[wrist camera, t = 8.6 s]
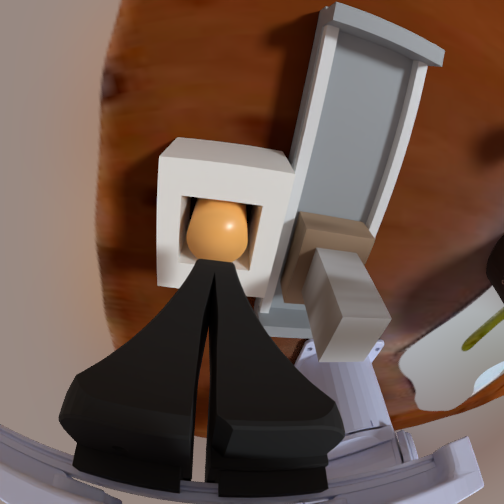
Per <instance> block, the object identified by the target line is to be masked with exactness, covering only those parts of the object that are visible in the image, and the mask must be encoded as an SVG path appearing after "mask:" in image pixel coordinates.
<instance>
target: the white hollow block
mask: <svg viewBox="0 0 504 504" xmlns="http://www.w3.org/2000/svg"><path fill="white" fill-rule="evenodd" d="M294 179H295V172H294V170H293V169H292V167H291V165H290V163H289V161H288V160H287V158H286V156H285V154H284V152H283V151H278V150H273V149H267V148H261V147H254V146H248V145H241V144H234V143H226V142H218V141H210V140H201V139H191V138H180V137H177V138H176V139H175V140H174V141H173V142H172V143H171V144H170V145H169V146H168V147H167V148H166V150H165V151H164V152H163V153H162V154H161V155H160V156H159V166H158V187H157V286H164V287H172V288H180V287H181V285H182V284H183V282H184V281H185V280H186V278H187V277H188V275H189V273H190V272H191V270H192V268H193V267H194V265H195V262H196V261H197V260H198V258H197V257H196V256H194V255H193V253H192V252H191V251H190V249H189V247H188V244H187V238H186V236H187V231H188V227H189V217H190V205H191V197H198V198H207V199H215V200H223V201H231V202H238V203H246V204H252V209H251V214H250V220H249V225H248V230H247V233H248V243H247V247H246V249H245V251H244V253H243V254H242V255H241V256H240V257H239V258H238V259H236V260H235V261H233V262H232V263H233V264H234V265H235V267H236V271H237V275H238V278H239V280H240V283H241V285H242V288H243V290H244V292H245V295H246V296H250V297H260V298H264V297H265V293H266V290H267V286H268V282H269V278H270V274H271V271H272V267H273V263H274V259H275V255H276V251H277V247H278V243H279V239H280V235H281V231H282V227H283V223H284V219H285V215H286V211H287V207H288V203H289V199H290V195H291V191H292V187H293V183H294Z"/></svg>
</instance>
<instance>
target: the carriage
mask: <svg viewBox="0 0 504 504" xmlns="http://www.w3.org/2000/svg"><path fill="white" fill-rule="evenodd" d="M374 242H375V238H374V237H373V235H372V234H371V232H370V231H369V230H368V228H367V227H366V225H365V224H364V223H363V222H360V221H355V220H349V219H344V218H338V217H332V216H326V215H320V214H314V213H308V212H302V211H300V212H299V216H298V220H297V223H296V227H295V231H294V234H293V238H292V241H291V245H290V249H289V252H288V256H287V259H286V263H285V266H284V270H283V273H282V277H281V280H280V283H281V289H282V295H283V300H284V303H291V304H304V305H305V307H306V311H307V315H308V320H309V324H310V328H311V332H312V336H313V340H314V345H315V349H316V353H317V358H318V362H362V361H364V360H365V359H366V357H367V356H368V354H369V353H370V351H371V350H372V348H373V347H374V345H375V344H376V342H377V341H378V339H379V338H380V336H381V335H382V333H383V332H384V330H385V329H386V327H387V325H388V324H389V322H390V321H391V319H392V318H391V316H390V314H389V312H388V310H387V308H386V306H385V304H384V302H383V300H382V299H381V297H380V295H379V293H378V291H377V289H376V287H375V285H374V283H373V281H372V280H371V278H370V276H369V274H368V272H367V270H366V269H365V267H364V265H365V263H366V261H367V259H368V256H369V254H370V252H371V249H372V247H373V244H374Z"/></svg>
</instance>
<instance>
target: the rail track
mask: <svg viewBox="0 0 504 504" xmlns="http://www.w3.org/2000/svg"><path fill="white" fill-rule="evenodd" d="M444 52H445V50H443V49H442V48H440V47H438V46H436V45H435V44H433V43H431V42H429V41H427V40H426V39H424V38H422V37H420V36H418V35H416V34H414V33H412V32H410V31H408V30H406V29H404V28H402V27H400V26H398V25H396V24H393V23H391V22H389V21H387V20H384V19H382V18H380V17H377V16H375V15H372V14H370V13H367V12H364V11H362V10H359V9H356V8H354V7H351V6H348V5H345V4H342V3H339V2H335V3H334V4H332V5H331V6H330V7H327V6H326V7H324V8H323V9H322V10H320V13H319V18H318V23H317V28H316V33H315V38H314V42H313V47H312V52H311V57H310V62H309V67H308V71H307V76H306V81H305V86H304V90H303V95H302V100H301V104H300V109H299V113H298V118H297V123H296V127H295V132H294V136H293V141H292V145H291V150H290V154H289V159H288V161H289V163H290V165H291V167H292V169H293V170H294V172H295V179H294V183H293V187H292V191H291V195H290V199H289V203H288V207H287V211H286V215H285V219H284V223H283V227H282V231H281V235H280V239H279V243H278V247H277V251H276V255H275V259H274V263H273V267H272V271H271V274H270V278H269V282H268V286H267V290H266V293H265V297H264V298H260V297H256V300H255V304H254V312H255V314H256V316H257V317H258V319H259V321H260V322H261V324H262V326H263V327H264V329H265V330H266V332H267V333H268V335H269V336H271V337H287V338H308V339H313V336H312V332H311V328H310V324H309V320H308V315H307V311H306V307H305V305H304V304H291V303H284V300H283V295H282V289H281V283H280V280H281V277H282V273H283V270H284V266H285V263H286V259H287V256H288V252H289V249H290V245H291V241H292V238H293V234H294V231H295V227H296V223H297V220H298V216H299V212H300V211H302V212H308V213H314V214H320V215H326V216H332V217H338V218H344V219H349V220H355V221H360V222H363V223H364V224H365V225H366V227H367V228H368V230H369V231H370V232H371V234H372V235H373V237H374V238H375V236H376V234H377V231H378V229H379V226H380V224H381V221H382V218H383V216H384V213H385V211H386V208H387V205H388V202H389V200H390V197H391V194H392V191H393V188H394V186H395V183H396V180H397V177H398V174H399V171H400V168H401V165H402V162H403V158H404V155H405V152H406V149H407V145H408V142H409V139H410V135H411V132H412V128H413V125H414V121H415V117H416V113H417V110H418V106H419V102H420V98H421V93H422V89H423V85H424V80H425V76H426V71H427V66H440V67H442V63H443V58H444Z"/></svg>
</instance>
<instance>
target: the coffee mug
mask: <svg viewBox="0 0 504 504" xmlns="http://www.w3.org/2000/svg"><path fill="white" fill-rule="evenodd" d="M486 274H487V277H488V279H489V280H490V282H491V283H492V285H493V287H494V288H495V290H496V291H497V293H498V295H499V296H500V298H501V300H502V302H503V303H504V235H503V236H502V238H501V239H500V240H499V241H498V243H497V244H496V246H495V247H494V249H493V251H492V253H491V255H490V257H489V260H488V263H487V268H486Z"/></svg>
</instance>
